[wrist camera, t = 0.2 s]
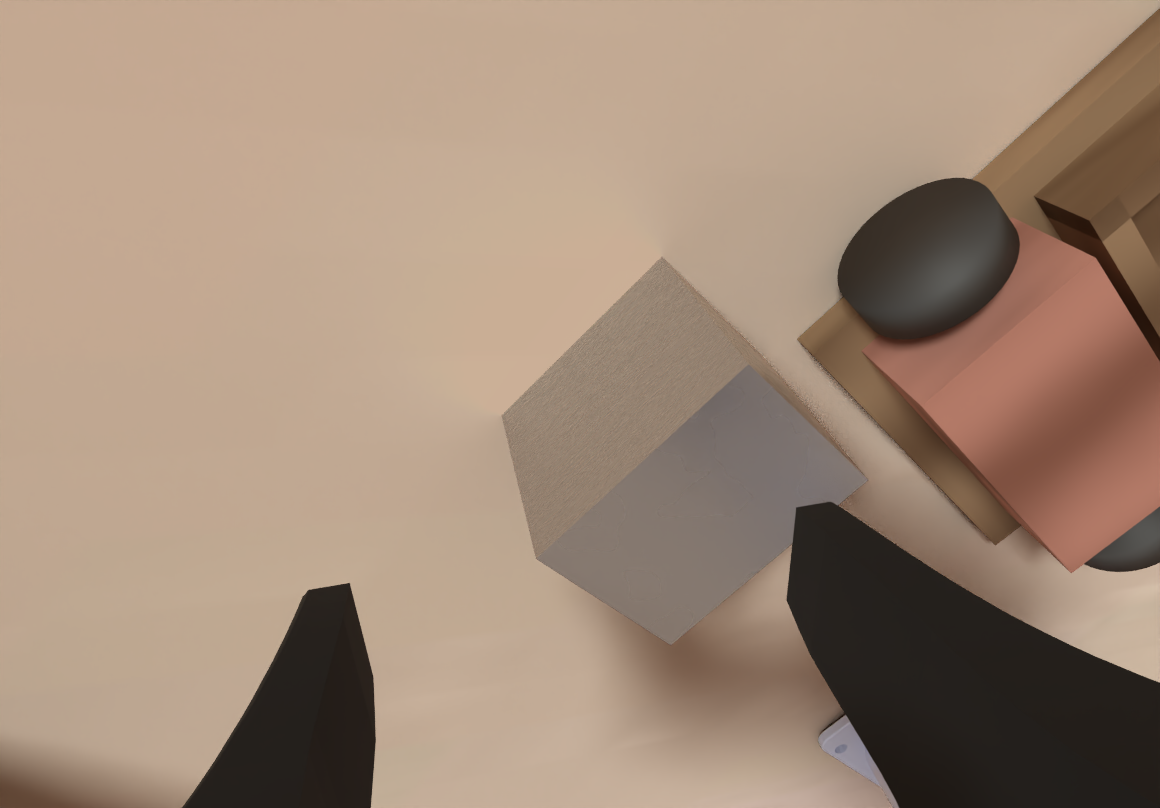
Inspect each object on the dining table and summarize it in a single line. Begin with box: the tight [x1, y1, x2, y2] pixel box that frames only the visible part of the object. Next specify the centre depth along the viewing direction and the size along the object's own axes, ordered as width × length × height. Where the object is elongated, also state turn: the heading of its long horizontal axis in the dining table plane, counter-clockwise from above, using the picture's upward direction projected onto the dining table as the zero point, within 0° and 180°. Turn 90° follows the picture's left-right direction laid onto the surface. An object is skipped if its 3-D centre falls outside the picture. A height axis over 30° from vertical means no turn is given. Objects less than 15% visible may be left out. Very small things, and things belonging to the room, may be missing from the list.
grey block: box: [502, 257, 868, 645], centre depth 21 cm, size 4×6×6 cm
